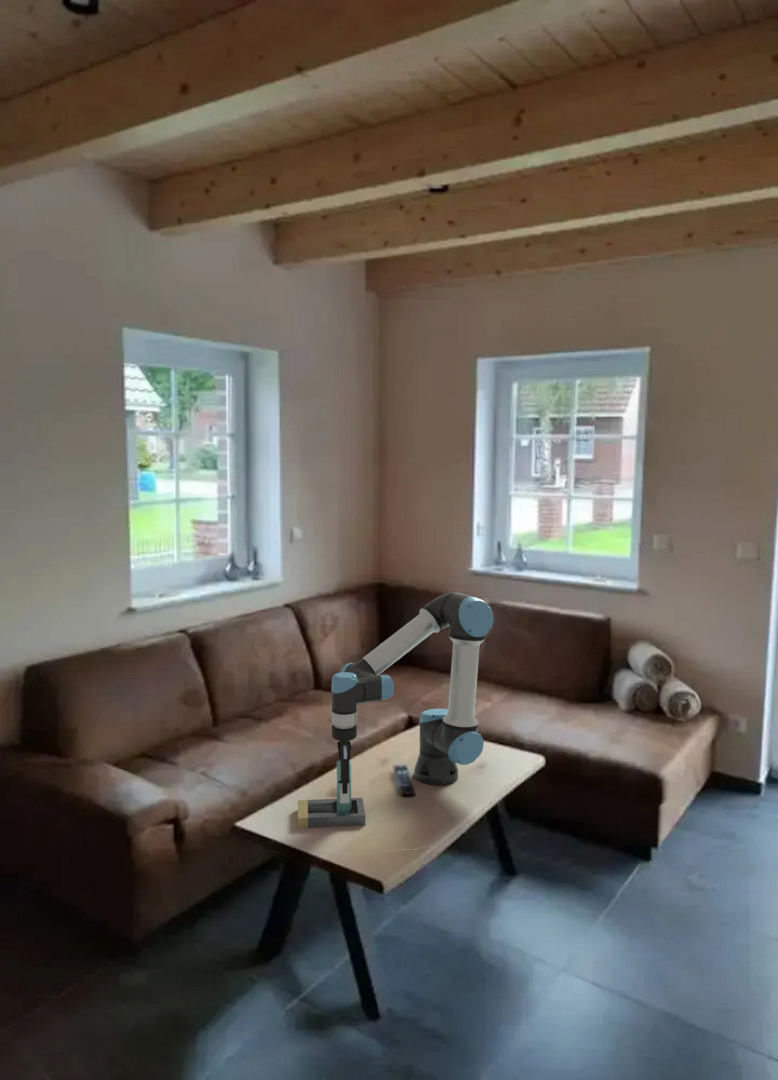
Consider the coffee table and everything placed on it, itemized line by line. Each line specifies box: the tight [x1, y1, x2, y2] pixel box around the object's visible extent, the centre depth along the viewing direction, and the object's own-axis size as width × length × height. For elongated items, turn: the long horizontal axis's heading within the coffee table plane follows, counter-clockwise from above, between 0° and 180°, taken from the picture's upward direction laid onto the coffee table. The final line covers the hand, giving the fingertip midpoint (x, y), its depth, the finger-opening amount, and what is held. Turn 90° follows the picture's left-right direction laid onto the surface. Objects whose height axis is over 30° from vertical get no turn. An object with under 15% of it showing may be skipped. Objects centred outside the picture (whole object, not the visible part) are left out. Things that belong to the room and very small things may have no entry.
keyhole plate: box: [297, 797, 366, 829], centre depth 239 cm, size 20×12×3 cm, turn 96°
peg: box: [336, 759, 352, 814], centre depth 238 cm, size 4×4×16 cm
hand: (344, 798), depth 239 cm, fingers closed on peg, 4 cm apart
